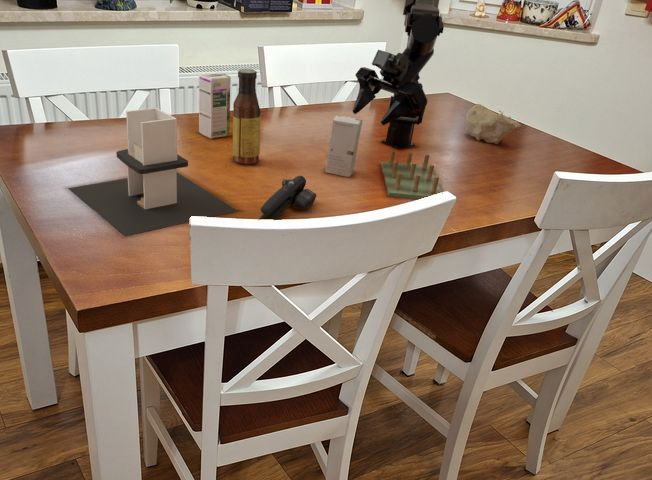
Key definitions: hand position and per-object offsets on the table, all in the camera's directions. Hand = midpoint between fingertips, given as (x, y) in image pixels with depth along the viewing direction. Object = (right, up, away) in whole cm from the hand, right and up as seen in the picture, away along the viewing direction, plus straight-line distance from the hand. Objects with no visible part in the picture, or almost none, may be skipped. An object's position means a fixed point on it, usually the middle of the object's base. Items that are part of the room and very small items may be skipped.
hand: (367, 118), depth 147 cm
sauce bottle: (-28, -8, +5) cm, 30 cm away
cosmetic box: (-6, -11, +4) cm, 13 cm away
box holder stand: (-45, -23, -18) cm, 54 cm away
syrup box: (-37, +3, +20) cm, 42 cm away
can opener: (-19, -25, -18) cm, 36 cm away
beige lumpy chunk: (+39, +5, +34) cm, 52 cm away
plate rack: (+10, -14, +2) cm, 17 cm away
